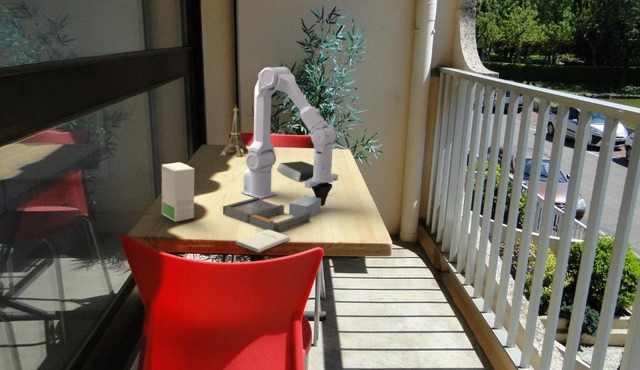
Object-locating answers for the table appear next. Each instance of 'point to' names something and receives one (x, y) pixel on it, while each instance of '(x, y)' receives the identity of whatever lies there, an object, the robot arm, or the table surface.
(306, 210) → the light grey rectangular block
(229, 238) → the table surface
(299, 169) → the external hard drive
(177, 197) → the skincare box
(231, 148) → the eiffel tower
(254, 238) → the external hard drive
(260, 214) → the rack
